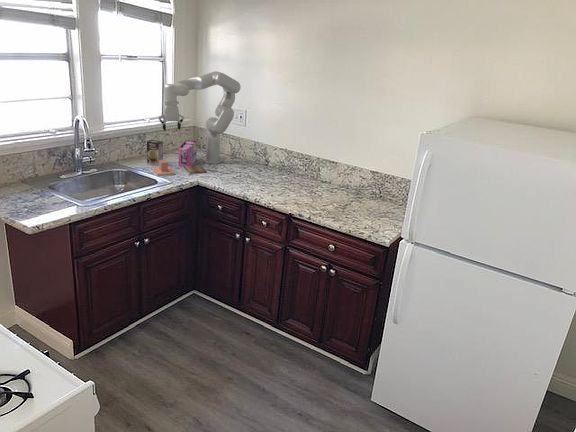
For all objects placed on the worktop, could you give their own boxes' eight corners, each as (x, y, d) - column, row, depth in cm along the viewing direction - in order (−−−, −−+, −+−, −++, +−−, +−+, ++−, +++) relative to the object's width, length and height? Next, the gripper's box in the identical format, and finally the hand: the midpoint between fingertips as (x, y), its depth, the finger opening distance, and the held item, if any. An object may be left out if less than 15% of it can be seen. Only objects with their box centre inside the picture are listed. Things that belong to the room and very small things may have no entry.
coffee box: (146, 164, 315) (146, 141, 309) (151, 162, 321) (151, 139, 315) (158, 166, 313) (158, 143, 307) (163, 164, 319) (163, 141, 313)
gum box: (189, 168, 316) (189, 148, 311) (177, 167, 316) (177, 147, 311) (196, 159, 338) (197, 141, 333) (185, 158, 338) (186, 140, 333)
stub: (168, 168, 310) (168, 158, 308) (174, 174, 299) (174, 163, 297) (152, 169, 305) (152, 158, 303) (157, 175, 294) (157, 164, 291)
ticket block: (199, 167, 321) (199, 164, 320) (206, 173, 309) (206, 170, 309) (183, 167, 315) (184, 165, 315) (190, 174, 304) (190, 171, 304)
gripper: (181, 102, 310) (182, 127, 317) (156, 103, 302) (157, 129, 309) (185, 104, 305) (186, 130, 311) (159, 105, 296) (160, 131, 303)
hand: (171, 129), depth 310 cm, fingers open, 9 cm apart
